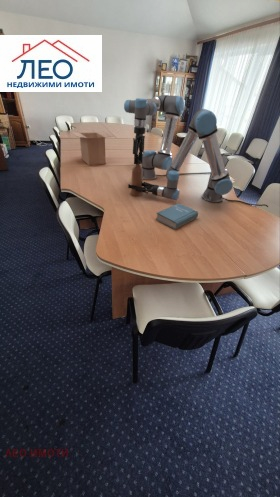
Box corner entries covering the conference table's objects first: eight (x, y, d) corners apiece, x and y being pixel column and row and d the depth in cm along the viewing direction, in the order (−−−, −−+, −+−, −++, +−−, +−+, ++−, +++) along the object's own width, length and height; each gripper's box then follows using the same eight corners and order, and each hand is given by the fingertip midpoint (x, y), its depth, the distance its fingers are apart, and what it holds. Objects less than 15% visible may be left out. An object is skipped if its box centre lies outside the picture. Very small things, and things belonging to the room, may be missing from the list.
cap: (138, 164, 157) (139, 160, 156) (134, 163, 158) (134, 159, 157) (141, 163, 160) (141, 159, 158) (137, 162, 161) (137, 158, 160)
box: (116, 165, 229) (116, 136, 213) (83, 168, 214) (80, 137, 198) (102, 154, 259) (101, 128, 243) (71, 156, 244) (68, 129, 228)
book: (177, 209, 154) (178, 203, 151) (197, 218, 145) (198, 211, 142) (156, 219, 141) (156, 212, 138) (175, 230, 132) (177, 222, 129)
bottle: (129, 194, 172) (130, 160, 157) (134, 191, 177) (136, 158, 162) (137, 196, 168) (139, 162, 153) (143, 193, 174) (145, 160, 159)
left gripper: (140, 124, 153) (138, 159, 167) (128, 127, 139) (127, 165, 153) (150, 125, 151) (147, 160, 165) (138, 129, 137) (136, 167, 151)
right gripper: (152, 200, 158) (124, 193, 165) (162, 191, 173) (136, 184, 180) (153, 190, 153) (124, 183, 160) (164, 181, 169) (137, 175, 176)
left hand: (137, 162), depth 159 cm, fingers open, 6 cm apart
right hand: (131, 184), depth 170 cm, fingers closed on bottle, 8 cm apart
